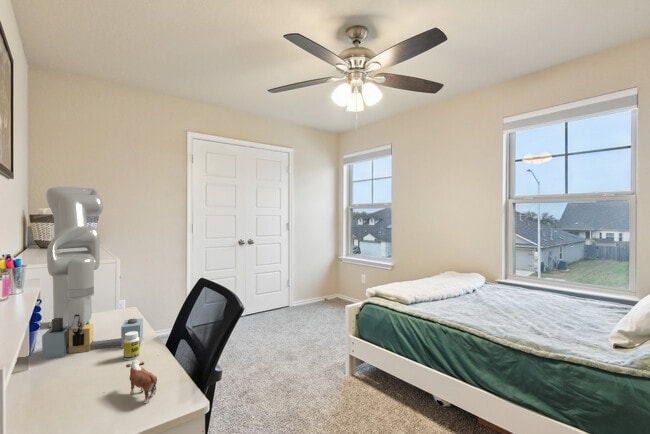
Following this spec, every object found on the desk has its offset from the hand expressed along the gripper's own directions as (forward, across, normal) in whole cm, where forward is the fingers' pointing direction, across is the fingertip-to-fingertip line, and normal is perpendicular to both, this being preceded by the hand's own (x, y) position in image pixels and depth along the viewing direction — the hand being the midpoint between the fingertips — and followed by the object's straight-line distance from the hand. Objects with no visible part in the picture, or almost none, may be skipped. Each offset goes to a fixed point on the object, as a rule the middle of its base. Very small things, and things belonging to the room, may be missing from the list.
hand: (81, 341), depth 120 cm
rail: (+3, 0, +4) cm, 5 cm away
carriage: (+3, 0, 0) cm, 3 cm away
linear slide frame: (+3, 0, +4) cm, 5 cm away
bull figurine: (+3, +40, +24) cm, 47 cm away
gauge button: (-5, 0, -7) cm, 9 cm away
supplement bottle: (+3, +13, +18) cm, 22 cm away
